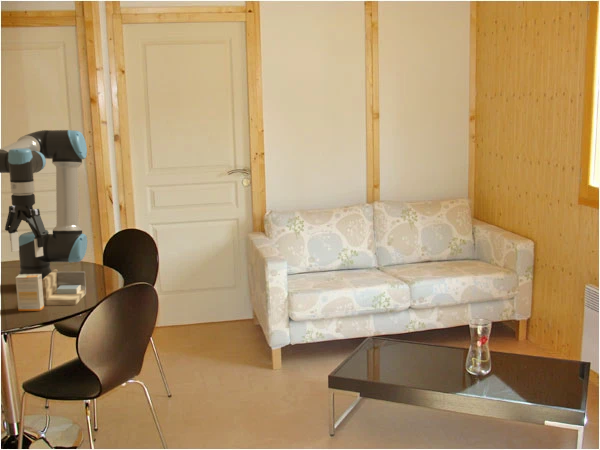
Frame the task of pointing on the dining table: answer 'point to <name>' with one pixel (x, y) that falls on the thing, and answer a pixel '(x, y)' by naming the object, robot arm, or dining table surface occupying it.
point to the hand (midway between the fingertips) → (27, 253)
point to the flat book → (68, 289)
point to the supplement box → (29, 292)
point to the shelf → (62, 278)
